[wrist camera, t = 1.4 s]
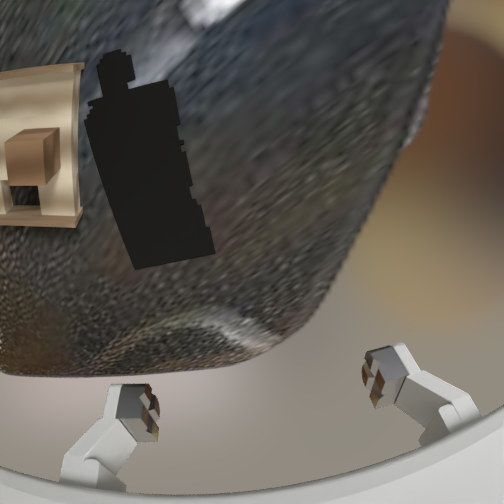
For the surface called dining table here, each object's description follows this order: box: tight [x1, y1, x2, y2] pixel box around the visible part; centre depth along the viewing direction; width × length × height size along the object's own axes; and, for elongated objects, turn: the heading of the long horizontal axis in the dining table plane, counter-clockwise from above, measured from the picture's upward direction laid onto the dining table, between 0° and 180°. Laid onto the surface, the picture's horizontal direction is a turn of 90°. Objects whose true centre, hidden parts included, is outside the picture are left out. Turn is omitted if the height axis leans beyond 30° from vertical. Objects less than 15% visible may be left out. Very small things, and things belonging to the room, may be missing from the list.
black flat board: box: [84, 49, 215, 270], centre depth 36 cm, size 12×1×30 cm
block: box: [4, 127, 61, 186], centre depth 27 cm, size 5×5×5 cm
